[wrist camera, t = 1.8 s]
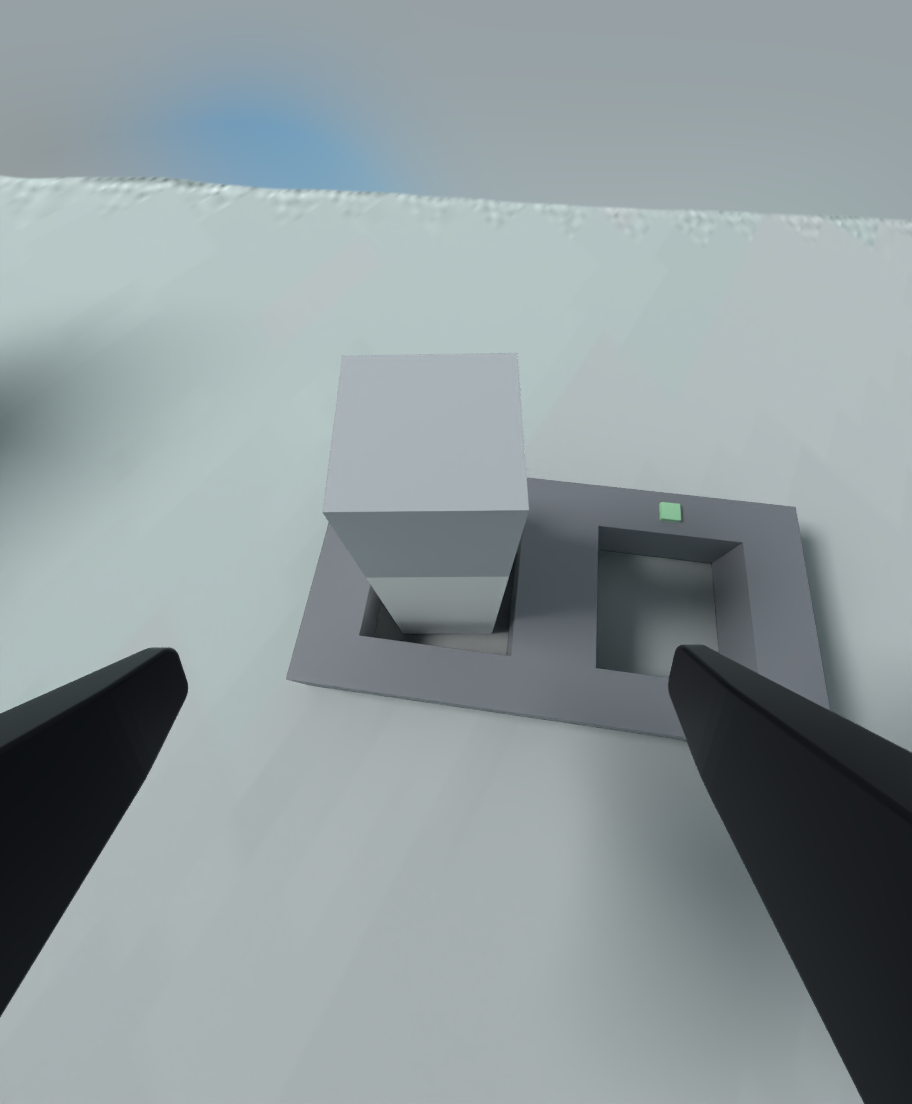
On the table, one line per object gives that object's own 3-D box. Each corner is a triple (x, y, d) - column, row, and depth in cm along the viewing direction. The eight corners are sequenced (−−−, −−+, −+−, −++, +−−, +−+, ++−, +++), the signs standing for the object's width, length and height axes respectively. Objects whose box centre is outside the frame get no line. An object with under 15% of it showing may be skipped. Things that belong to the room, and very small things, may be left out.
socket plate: (788, 755, 17) (843, 760, 15) (307, 684, 19) (284, 678, 16) (758, 531, 21) (798, 504, 19) (358, 485, 22) (345, 455, 20)
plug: (491, 633, 19) (529, 509, 8) (403, 633, 20) (322, 511, 8) (488, 535, 21) (515, 327, 10) (407, 536, 21) (345, 329, 10)
